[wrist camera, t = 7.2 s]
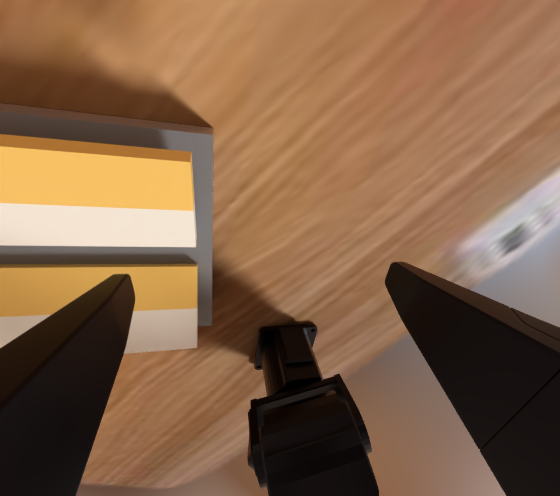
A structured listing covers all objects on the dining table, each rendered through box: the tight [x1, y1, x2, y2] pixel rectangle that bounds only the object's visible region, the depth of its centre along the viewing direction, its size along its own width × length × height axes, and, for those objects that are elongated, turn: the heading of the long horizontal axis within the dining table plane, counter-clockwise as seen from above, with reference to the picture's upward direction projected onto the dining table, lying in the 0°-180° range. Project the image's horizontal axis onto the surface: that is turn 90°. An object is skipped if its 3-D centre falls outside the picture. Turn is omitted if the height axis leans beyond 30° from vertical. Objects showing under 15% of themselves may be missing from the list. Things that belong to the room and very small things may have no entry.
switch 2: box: [0, 264, 198, 354], centre depth 17 cm, size 6×12×1 cm, turn 80°
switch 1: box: [0, 134, 197, 247], centre depth 14 cm, size 6×12×1 cm, turn 84°
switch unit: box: [0, 103, 213, 326], centre depth 17 cm, size 15×20×4 cm
